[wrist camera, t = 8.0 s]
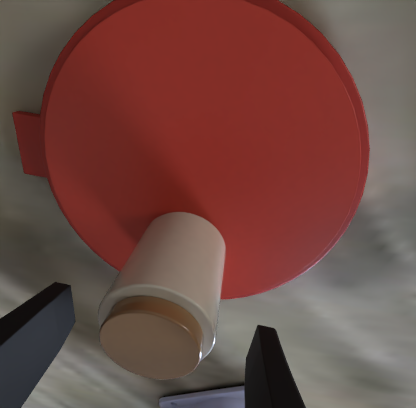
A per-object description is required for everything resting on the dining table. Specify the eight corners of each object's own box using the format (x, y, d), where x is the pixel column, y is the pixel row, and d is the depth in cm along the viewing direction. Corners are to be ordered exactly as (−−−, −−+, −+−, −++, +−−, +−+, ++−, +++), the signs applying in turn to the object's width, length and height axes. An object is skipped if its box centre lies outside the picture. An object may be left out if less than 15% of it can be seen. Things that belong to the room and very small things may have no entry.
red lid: (428, 19, 10) (454, 13, 9) (301, 306, 17) (305, 325, 16) (-10, -47, 11) (-44, -61, 9) (46, 254, 18) (30, 268, 17)
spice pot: (169, 287, 16) (132, 393, 11) (127, 228, 14) (60, 319, 9) (239, 267, 14) (235, 377, 9) (201, 198, 13) (171, 287, 8)
